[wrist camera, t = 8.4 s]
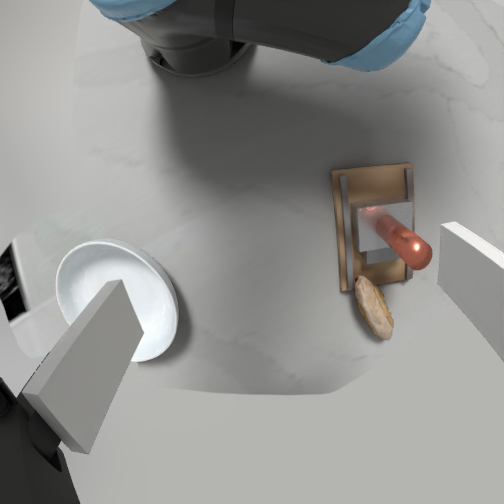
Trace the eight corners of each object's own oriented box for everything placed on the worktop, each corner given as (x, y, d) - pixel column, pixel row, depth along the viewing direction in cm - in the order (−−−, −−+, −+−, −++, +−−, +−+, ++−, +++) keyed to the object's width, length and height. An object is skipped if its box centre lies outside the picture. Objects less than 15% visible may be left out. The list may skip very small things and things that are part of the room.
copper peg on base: (350, 203, 40) (386, 234, 28) (402, 196, 40) (451, 224, 28) (354, 256, 43) (385, 304, 31) (403, 248, 43) (445, 290, 31)
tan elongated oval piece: (372, 286, 39) (343, 298, 41) (402, 342, 45) (377, 351, 47) (368, 262, 43) (342, 273, 45) (397, 319, 49) (375, 327, 51)
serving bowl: (184, 229, 44) (172, 246, 38) (190, 343, 52) (182, 370, 46) (66, 224, 44) (43, 239, 38) (87, 329, 52) (71, 351, 46)
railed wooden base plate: (330, 170, 40) (334, 172, 38) (407, 162, 39) (415, 164, 37) (340, 286, 47) (343, 294, 45) (408, 273, 46) (414, 280, 44)
